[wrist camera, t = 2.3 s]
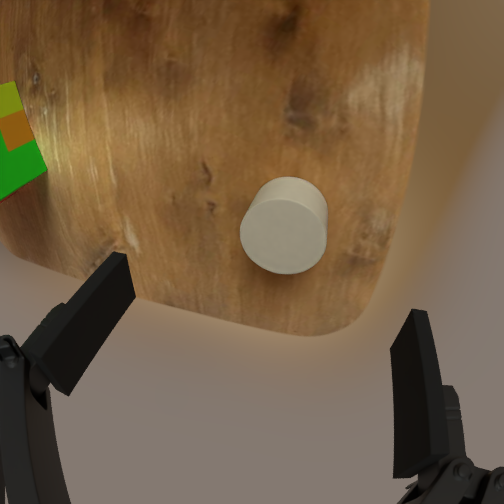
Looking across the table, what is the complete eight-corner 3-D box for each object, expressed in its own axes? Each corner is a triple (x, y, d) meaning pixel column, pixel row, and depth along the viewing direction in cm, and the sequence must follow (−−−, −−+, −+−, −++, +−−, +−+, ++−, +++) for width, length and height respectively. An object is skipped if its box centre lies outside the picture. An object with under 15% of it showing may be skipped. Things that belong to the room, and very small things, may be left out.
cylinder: (334, 183, 18) (334, 207, 16) (321, 249, 21) (318, 281, 19) (255, 171, 19) (241, 192, 16) (251, 237, 22) (238, 266, 19)
